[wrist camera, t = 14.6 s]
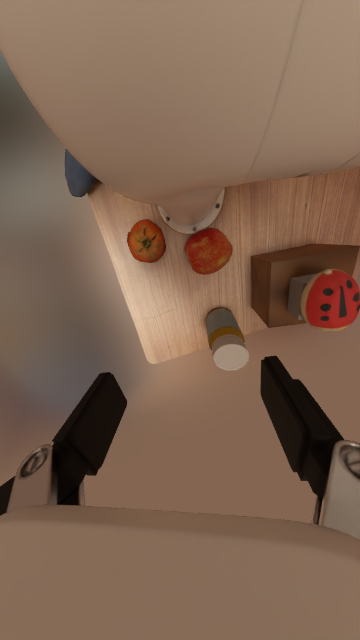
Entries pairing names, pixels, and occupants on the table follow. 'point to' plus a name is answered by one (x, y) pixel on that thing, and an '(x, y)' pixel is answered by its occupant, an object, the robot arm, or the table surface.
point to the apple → (208, 251)
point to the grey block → (297, 295)
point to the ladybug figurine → (330, 301)
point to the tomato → (146, 241)
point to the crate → (292, 276)
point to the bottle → (226, 340)
